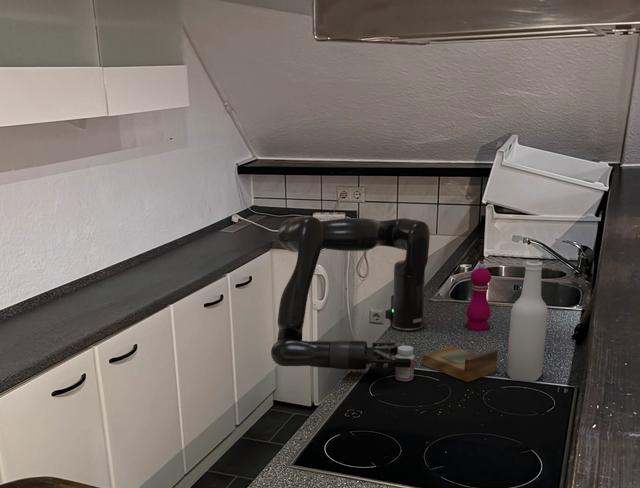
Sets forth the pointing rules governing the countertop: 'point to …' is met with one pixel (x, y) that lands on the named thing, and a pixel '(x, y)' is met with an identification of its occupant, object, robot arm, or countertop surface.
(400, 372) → the pill bottle
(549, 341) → the countertop surface
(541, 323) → the alcohol
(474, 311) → the pepper mill
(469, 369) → the wooden box
